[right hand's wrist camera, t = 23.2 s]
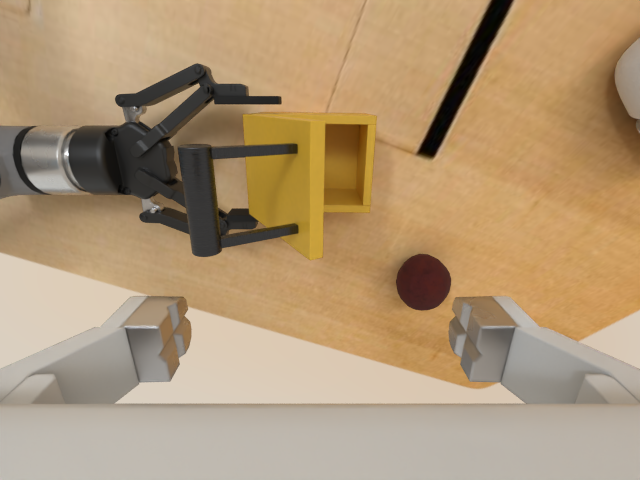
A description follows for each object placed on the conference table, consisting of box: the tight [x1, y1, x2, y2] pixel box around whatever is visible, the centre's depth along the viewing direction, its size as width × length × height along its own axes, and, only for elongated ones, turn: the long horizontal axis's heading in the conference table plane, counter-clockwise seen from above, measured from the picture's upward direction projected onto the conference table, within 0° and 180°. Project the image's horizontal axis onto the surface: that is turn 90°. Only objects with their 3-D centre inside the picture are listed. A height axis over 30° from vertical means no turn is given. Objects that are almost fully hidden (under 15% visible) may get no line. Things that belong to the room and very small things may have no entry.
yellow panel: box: [178, 114, 325, 260], centre depth 28 cm, size 14×10×9 cm
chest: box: [254, 112, 377, 213], centre depth 40 cm, size 13×10×9 cm
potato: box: [396, 254, 451, 310], centre depth 47 cm, size 7×8×7 cm
